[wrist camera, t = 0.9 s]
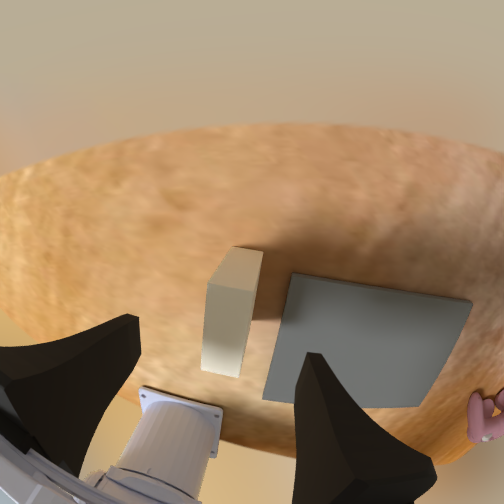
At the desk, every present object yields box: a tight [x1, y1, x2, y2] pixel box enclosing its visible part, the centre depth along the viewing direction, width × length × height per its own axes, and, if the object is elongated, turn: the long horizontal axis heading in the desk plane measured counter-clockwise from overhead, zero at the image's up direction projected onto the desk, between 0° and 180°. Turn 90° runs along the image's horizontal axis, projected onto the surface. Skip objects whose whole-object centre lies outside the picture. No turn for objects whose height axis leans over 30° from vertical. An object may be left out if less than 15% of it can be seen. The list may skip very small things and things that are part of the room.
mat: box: [262, 273, 473, 408], centre depth 18 cm, size 11×15×1 cm
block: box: [201, 246, 263, 378], centre depth 15 cm, size 5×2×6 cm, turn 171°
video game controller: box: [467, 390, 504, 443], centre depth 17 cm, size 10×5×7 cm, turn 101°
